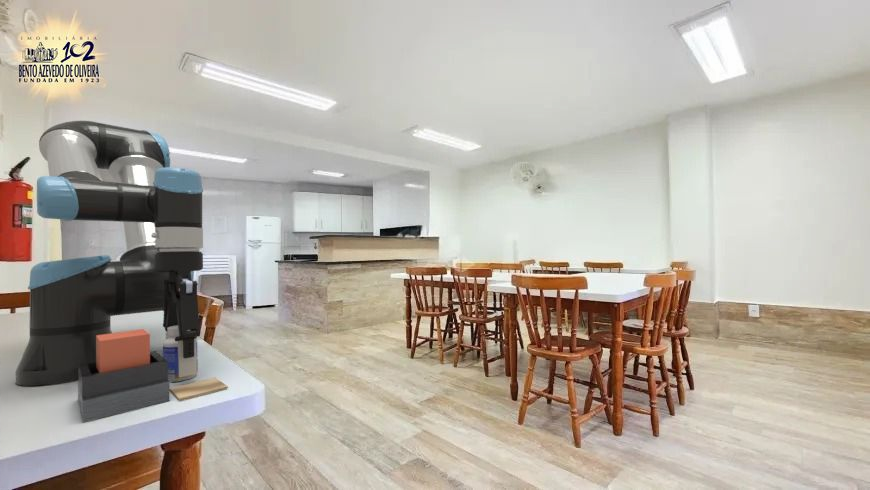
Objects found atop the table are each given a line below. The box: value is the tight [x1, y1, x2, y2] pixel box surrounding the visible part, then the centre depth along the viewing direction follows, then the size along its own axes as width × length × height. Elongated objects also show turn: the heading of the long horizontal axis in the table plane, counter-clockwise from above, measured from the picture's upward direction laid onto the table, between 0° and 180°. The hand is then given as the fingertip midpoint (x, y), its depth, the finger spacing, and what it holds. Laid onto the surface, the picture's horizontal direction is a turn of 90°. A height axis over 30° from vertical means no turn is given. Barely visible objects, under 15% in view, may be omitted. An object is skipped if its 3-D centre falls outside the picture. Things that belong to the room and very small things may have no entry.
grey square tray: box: [77, 350, 171, 423], centre depth 59 cm, size 12×10×6 cm
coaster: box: [170, 377, 229, 402], centre depth 63 cm, size 7×7×1 cm
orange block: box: [96, 328, 151, 373], centre depth 59 cm, size 6×6×5 cm
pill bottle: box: [162, 325, 199, 383], centre depth 70 cm, size 5×5×10 cm
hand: (180, 369), depth 70 cm, fingers open, 9 cm apart
